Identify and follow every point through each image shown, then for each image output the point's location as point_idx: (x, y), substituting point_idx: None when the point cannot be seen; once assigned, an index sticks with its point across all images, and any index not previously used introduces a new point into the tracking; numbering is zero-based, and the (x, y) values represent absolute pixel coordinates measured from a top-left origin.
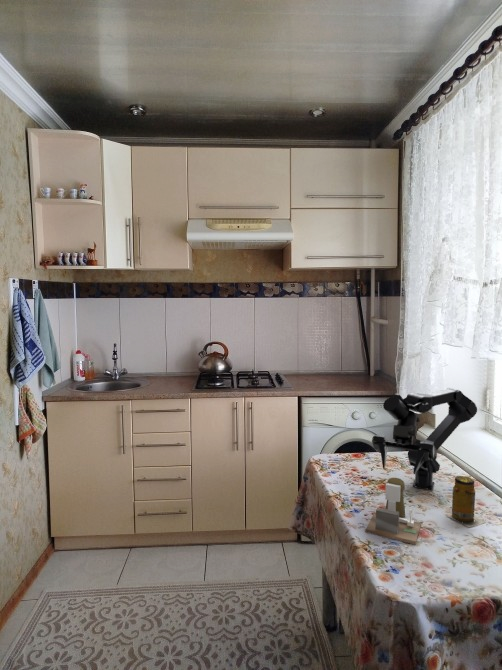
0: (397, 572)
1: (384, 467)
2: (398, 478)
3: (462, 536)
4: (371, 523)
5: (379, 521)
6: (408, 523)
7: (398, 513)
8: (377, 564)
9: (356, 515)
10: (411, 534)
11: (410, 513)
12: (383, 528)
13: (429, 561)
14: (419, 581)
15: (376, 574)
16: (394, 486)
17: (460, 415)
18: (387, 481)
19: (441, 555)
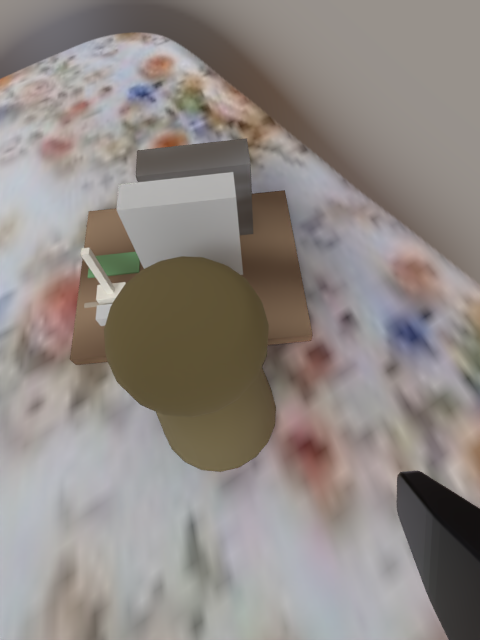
0: (131, 90)
1: (402, 507)
2: (162, 359)
3: None
4: (280, 238)
5: None
6: (120, 284)
7: (137, 163)
8: (188, 91)
9: (380, 292)
10: (107, 246)
11: (94, 259)
12: None
13: (47, 164)
14: (75, 89)
15: (180, 64)
16: (162, 181)
17: None
18: (260, 301)
19: (6, 207)
